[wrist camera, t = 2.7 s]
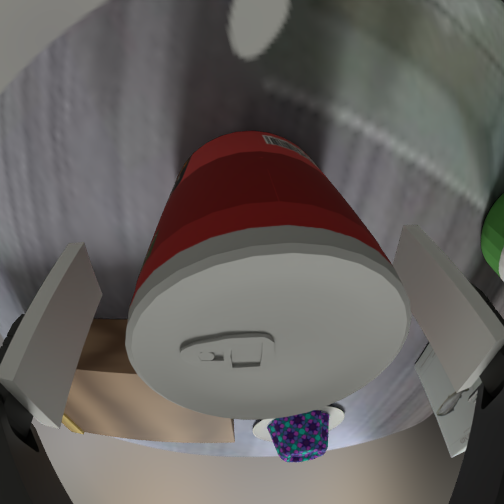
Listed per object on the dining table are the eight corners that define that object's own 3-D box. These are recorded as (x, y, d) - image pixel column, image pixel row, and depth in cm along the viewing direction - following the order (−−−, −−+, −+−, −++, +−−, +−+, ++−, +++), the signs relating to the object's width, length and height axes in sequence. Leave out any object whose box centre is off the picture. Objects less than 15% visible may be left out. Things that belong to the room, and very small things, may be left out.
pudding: (249, 407, 31) (252, 448, 27) (351, 393, 32) (362, 431, 27) (254, 441, 38) (257, 472, 34) (334, 430, 38) (341, 459, 34)
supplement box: (437, 322, 25) (493, 427, 15) (483, 312, 26) (536, 399, 15) (411, 366, 29) (449, 460, 19) (456, 354, 30) (495, 435, 19)
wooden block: (222, 317, 22) (223, 378, 18) (232, 400, 29) (235, 445, 25) (26, 315, 21) (3, 360, 17) (79, 393, 28) (70, 431, 24)
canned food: (157, 150, 15) (64, 289, 6) (306, 112, 14) (433, 202, 5) (201, 264, 19) (189, 431, 10) (325, 235, 19) (395, 389, 10)
